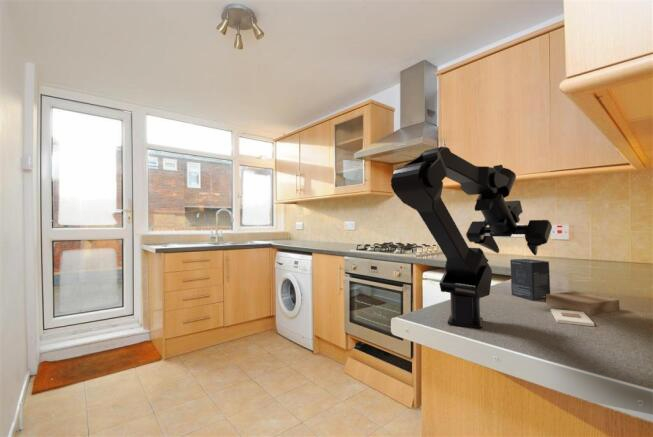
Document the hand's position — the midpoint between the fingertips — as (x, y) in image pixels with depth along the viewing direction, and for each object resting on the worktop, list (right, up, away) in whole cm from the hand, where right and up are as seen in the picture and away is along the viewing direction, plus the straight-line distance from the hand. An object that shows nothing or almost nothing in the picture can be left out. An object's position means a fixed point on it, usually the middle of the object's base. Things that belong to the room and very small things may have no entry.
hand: (516, 252), depth 82 cm
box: (+7, -13, +5) cm, 16 cm away
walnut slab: (+12, -13, -6) cm, 19 cm away
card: (+3, -13, -15) cm, 20 cm away
